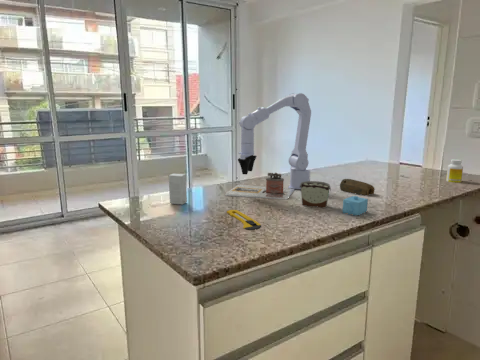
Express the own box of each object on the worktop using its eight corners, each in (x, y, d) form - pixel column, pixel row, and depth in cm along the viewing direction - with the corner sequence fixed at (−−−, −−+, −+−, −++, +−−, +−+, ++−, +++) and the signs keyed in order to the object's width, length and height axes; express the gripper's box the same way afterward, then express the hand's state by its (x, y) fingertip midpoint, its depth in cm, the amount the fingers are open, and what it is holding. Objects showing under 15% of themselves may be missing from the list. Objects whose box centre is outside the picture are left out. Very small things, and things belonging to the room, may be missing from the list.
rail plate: (294, 191, 172) (294, 188, 172) (287, 201, 156) (287, 198, 155) (238, 186, 181) (238, 184, 181) (225, 195, 164) (225, 193, 164)
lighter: (283, 194, 167) (284, 172, 165) (283, 195, 164) (283, 173, 162) (266, 193, 169) (266, 171, 166) (265, 194, 165) (265, 173, 163)
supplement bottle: (463, 186, 181) (467, 161, 178) (449, 186, 181) (453, 161, 178) (455, 183, 187) (459, 158, 185) (442, 183, 187) (445, 158, 185)
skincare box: (187, 202, 154) (186, 174, 151) (182, 204, 150) (181, 176, 147) (174, 200, 156) (173, 173, 153) (169, 203, 152) (168, 175, 149)
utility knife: (247, 234, 119) (247, 228, 118) (220, 215, 138) (219, 209, 138) (266, 231, 122) (266, 225, 121) (236, 212, 141) (236, 207, 141)
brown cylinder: (337, 193, 169) (338, 179, 167) (345, 190, 174) (346, 176, 172) (367, 199, 158) (368, 184, 157) (375, 196, 163) (376, 182, 161)
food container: (332, 206, 147) (334, 182, 145) (329, 211, 142) (331, 185, 140) (302, 203, 152) (303, 179, 150) (298, 207, 147) (299, 182, 145)
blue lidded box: (353, 222, 129) (354, 201, 128) (337, 218, 133) (338, 198, 132) (368, 214, 138) (369, 195, 136) (353, 211, 142) (354, 192, 140)
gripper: (243, 140, 173) (243, 169, 176) (233, 144, 160) (233, 175, 163) (258, 141, 171) (258, 170, 174) (249, 145, 158) (249, 176, 160)
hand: (247, 172), depth 168 cm, fingers open, 7 cm apart
